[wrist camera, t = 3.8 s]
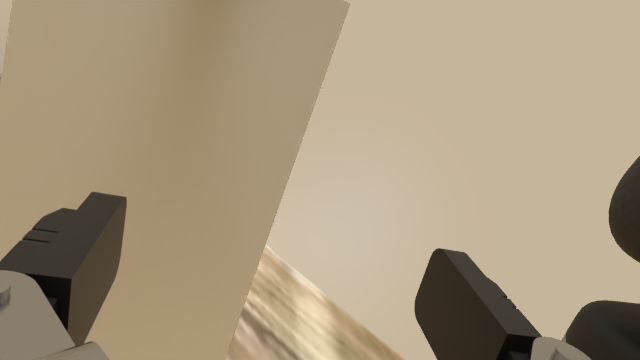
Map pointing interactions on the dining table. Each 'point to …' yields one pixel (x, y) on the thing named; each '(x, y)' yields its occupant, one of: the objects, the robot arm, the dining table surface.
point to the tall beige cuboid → (162, 146)
